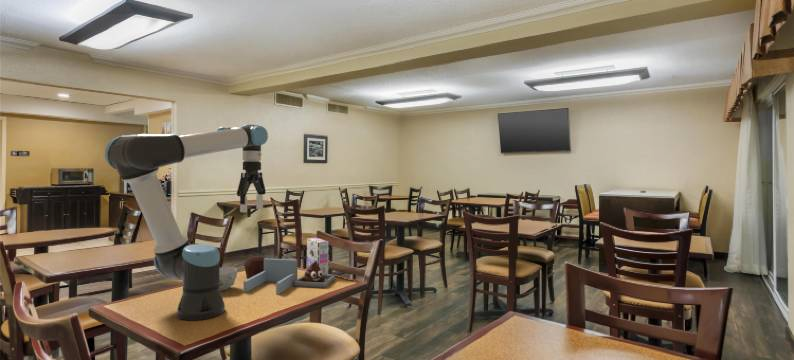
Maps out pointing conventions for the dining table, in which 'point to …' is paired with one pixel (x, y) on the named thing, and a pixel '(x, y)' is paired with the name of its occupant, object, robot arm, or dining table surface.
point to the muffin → (254, 265)
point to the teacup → (226, 277)
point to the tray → (323, 284)
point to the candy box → (318, 254)
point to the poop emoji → (314, 274)
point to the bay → (275, 274)
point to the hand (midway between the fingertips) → (251, 210)
